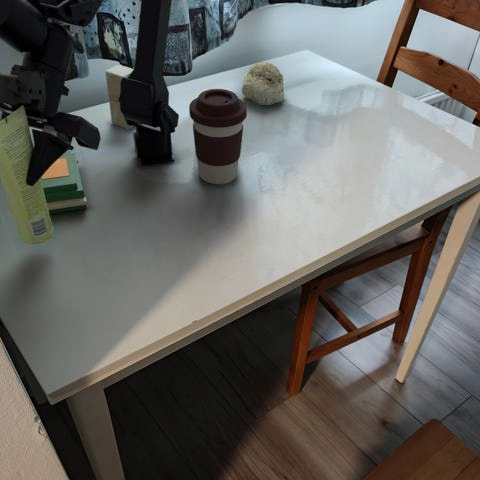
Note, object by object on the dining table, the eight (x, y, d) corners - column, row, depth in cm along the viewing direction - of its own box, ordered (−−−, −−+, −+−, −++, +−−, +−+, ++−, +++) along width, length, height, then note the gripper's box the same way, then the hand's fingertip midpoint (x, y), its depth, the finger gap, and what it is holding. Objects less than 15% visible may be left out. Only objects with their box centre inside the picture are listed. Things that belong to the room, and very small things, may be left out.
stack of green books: (79, 167, 100) (74, 144, 96) (88, 211, 90) (83, 187, 87) (33, 173, 98) (26, 150, 94) (38, 219, 88) (31, 195, 85)
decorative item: (234, 68, 124) (273, 49, 122) (248, 103, 130) (286, 86, 127) (236, 82, 115) (278, 63, 113) (251, 119, 120) (292, 101, 118)
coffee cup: (184, 166, 101) (180, 88, 90) (231, 157, 104) (233, 81, 93) (202, 193, 95) (200, 113, 84) (252, 183, 98) (256, 104, 87)
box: (111, 123, 112) (103, 70, 104) (124, 115, 115) (117, 63, 107) (130, 130, 110) (124, 76, 102) (143, 122, 113) (137, 69, 105)
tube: (18, 223, 82) (-19, 107, 67) (51, 218, 83) (23, 103, 68) (21, 248, 79) (-16, 132, 64) (56, 242, 80) (28, 128, 65)
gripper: (-58, 26, 65) (-87, 149, 66) (70, 52, 61) (37, 182, 62) (3, 68, 76) (-23, 172, 77) (115, 92, 72) (86, 202, 73)
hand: (16, 181), depth 72 cm, fingers closed on tube, 4 cm apart
